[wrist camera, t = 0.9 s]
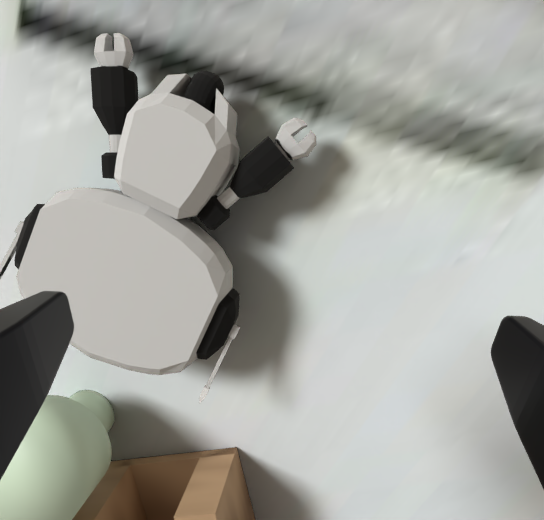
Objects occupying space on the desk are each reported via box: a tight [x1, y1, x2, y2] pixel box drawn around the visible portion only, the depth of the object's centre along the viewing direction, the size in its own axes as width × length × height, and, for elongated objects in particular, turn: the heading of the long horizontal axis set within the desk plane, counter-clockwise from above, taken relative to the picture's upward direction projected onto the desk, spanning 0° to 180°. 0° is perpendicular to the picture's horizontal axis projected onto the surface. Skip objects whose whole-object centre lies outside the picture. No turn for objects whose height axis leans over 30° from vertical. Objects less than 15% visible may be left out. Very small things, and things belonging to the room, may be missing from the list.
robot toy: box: [0, 33, 316, 403], centre depth 21 cm, size 12×4×15 cm
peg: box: [0, 390, 114, 520], centre depth 23 cm, size 6×6×6 cm
